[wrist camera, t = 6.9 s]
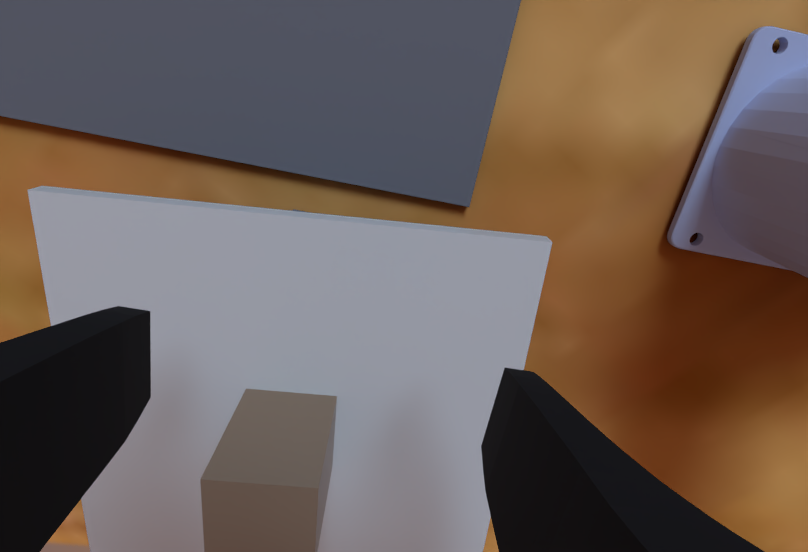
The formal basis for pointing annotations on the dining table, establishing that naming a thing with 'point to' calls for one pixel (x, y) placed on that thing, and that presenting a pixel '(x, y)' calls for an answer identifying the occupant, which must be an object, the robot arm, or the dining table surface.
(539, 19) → the dining table surface
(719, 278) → the dining table surface
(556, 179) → the dining table surface
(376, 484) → the lid
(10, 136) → the dining table surface
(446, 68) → the mat
